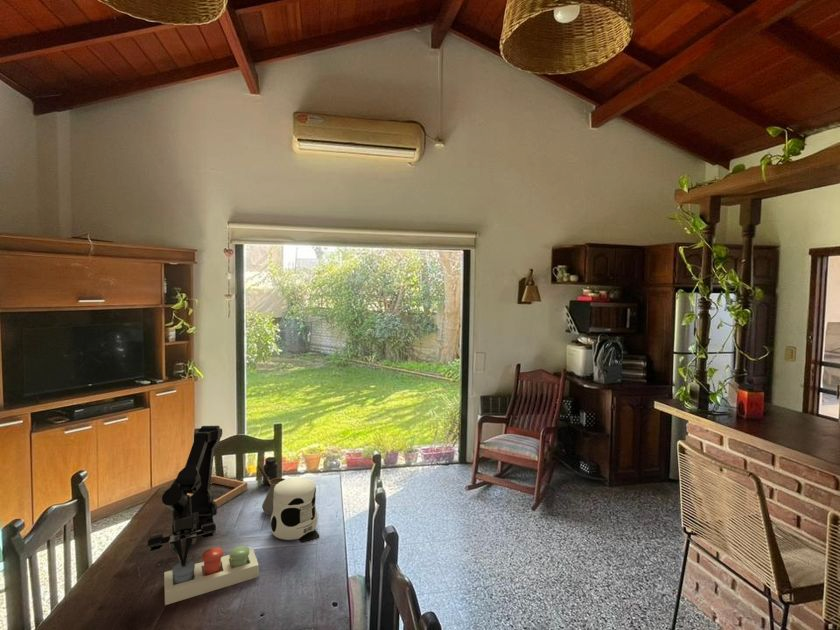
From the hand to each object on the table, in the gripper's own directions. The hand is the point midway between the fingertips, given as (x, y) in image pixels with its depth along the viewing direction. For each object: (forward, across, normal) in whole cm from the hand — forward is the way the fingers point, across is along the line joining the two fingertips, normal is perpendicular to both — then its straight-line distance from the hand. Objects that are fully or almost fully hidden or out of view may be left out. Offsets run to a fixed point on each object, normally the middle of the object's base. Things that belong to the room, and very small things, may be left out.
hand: (183, 565), depth 132 cm
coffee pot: (-22, +34, +32) cm, 52 cm away
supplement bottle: (-37, +39, +48) cm, 72 cm away
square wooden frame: (-38, +15, +49) cm, 64 cm away
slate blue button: (+4, 0, +4) cm, 6 cm away
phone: (-4, +42, +16) cm, 45 cm away
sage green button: (+4, +16, +4) cm, 17 cm away
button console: (+5, +8, +5) cm, 11 cm away
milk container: (-5, +38, +16) cm, 42 cm away
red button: (+3, +8, +3) cm, 9 cm away
